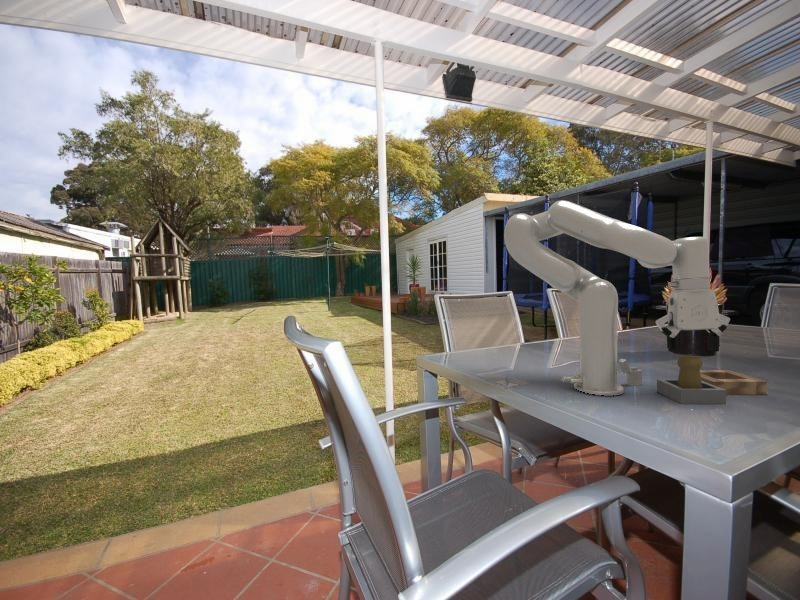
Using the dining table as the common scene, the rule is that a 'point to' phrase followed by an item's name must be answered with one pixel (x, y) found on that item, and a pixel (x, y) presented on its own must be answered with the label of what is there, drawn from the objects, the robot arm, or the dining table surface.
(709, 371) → the socket block
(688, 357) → the cork
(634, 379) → the lighter
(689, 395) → the grey square frame
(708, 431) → the dining table surface
